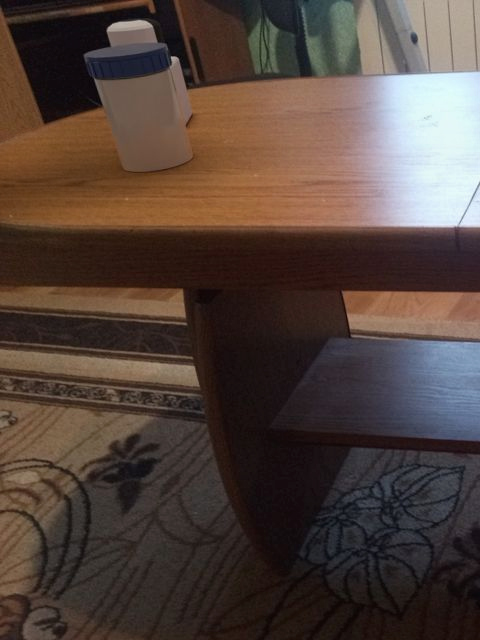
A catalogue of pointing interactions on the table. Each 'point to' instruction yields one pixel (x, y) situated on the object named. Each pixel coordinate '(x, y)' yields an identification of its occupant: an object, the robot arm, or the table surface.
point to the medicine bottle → (150, 33)
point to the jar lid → (128, 60)
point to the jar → (145, 121)
